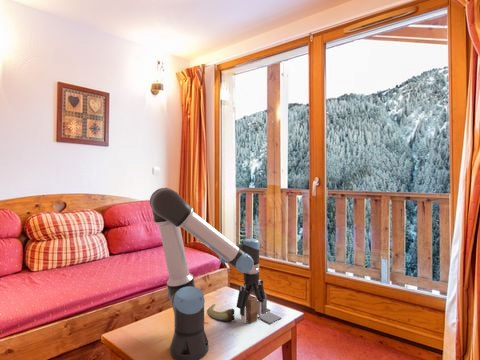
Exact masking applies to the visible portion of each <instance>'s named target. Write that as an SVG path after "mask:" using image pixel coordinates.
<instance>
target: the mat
mask: <svg viewBox="0 0 480 360" xmlns="http://www.w3.org/2000/svg"><path fill="white" fill-rule="evenodd" d="M257 319H259V320H261V321H263V322H265V323H267V324H268V325H271V324H273V322H274V323H276V322H277V320H278V321H279V319H280V320H281V319H282V316H279V315H277V314H275V313H273V312H271V311H269V312H267V313H264V314H263V313H262V314H261V316H259V315H258V316H257ZM275 321H276V322H275Z"/></svg>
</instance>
